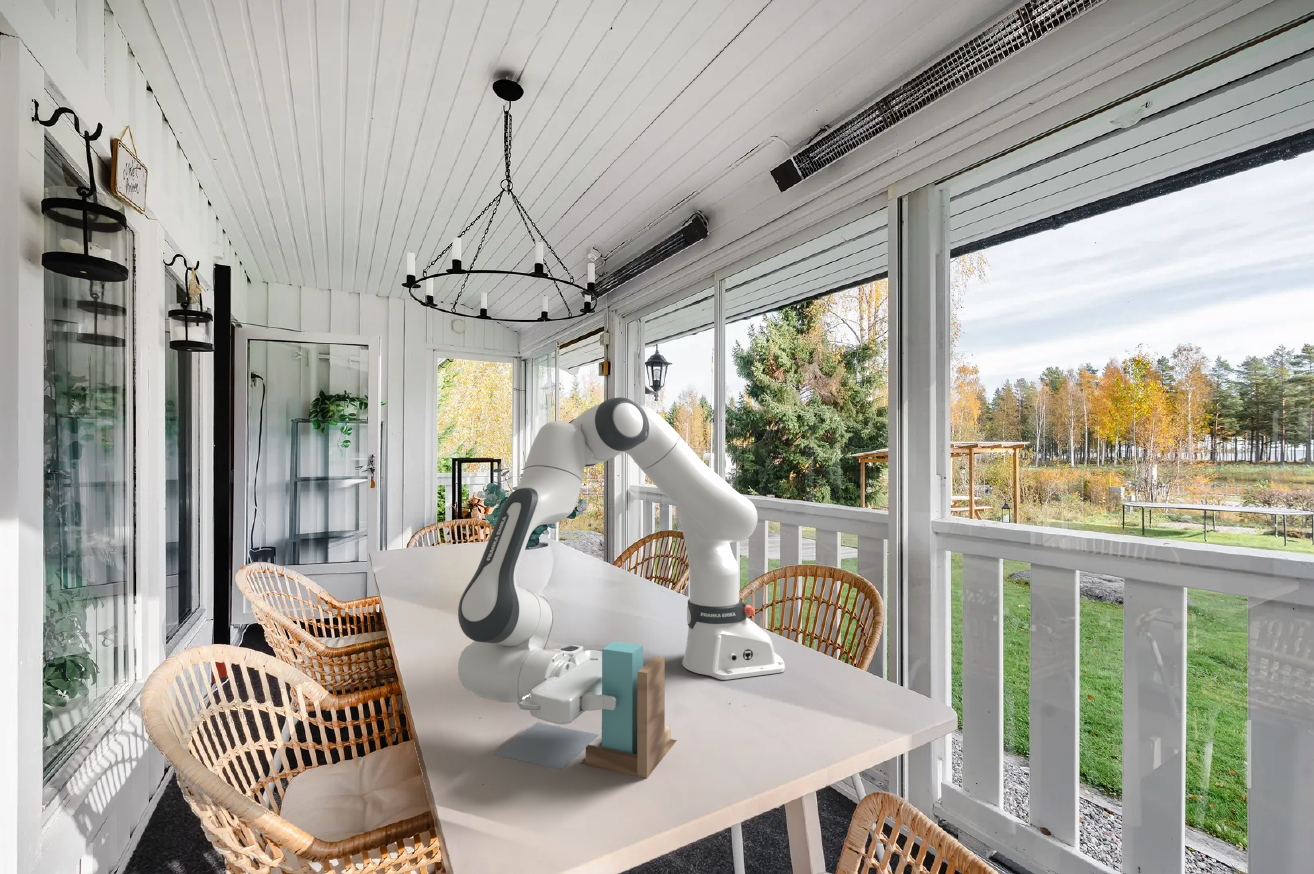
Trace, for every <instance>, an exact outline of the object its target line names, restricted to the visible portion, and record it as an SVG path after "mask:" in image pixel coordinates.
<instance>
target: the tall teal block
mask: <svg viewBox="0 0 1314 874" xmlns="http://www.w3.org/2000/svg"><path fill="white" fill-rule="evenodd" d="M601 651H602V695H606V694H607V693H611V694H617V695H618V697H619V701H618V702H619V705H618V706H617V707H616V708H615V709H614V710H608V709H601V742H602V747H603V748H608V749H612V750H617V751H622V752H627V753H632V754H637V677H638V671H639V670H640V669H641V668H642V667H644V645H643V644H636V643H630V642H629V643H627V642H621V641H612V642H610V643H609V644H608V645H605V647H603V648H602V649H601Z"/></svg>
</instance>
